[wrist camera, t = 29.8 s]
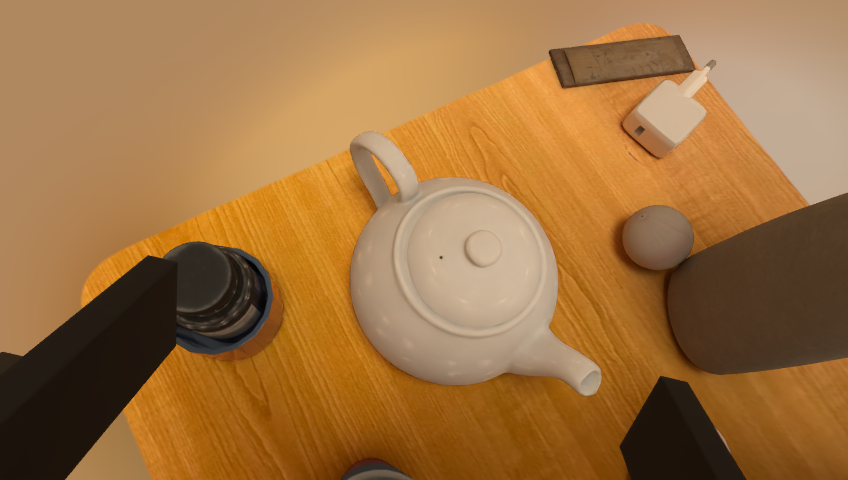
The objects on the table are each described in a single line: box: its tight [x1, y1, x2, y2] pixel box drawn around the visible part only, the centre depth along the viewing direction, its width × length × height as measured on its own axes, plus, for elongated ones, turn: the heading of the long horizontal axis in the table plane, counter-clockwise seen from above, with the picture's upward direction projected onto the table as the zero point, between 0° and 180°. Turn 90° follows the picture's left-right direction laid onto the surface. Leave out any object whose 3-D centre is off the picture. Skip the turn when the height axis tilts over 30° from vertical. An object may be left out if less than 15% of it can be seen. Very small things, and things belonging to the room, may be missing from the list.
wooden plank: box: [549, 35, 696, 88], centre depth 56 cm, size 17×1×5 cm
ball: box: [622, 205, 694, 270], centre depth 46 cm, size 6×6×6 cm
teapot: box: [350, 131, 602, 396], centre depth 39 cm, size 19×18×14 cm
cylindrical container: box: [176, 246, 284, 361], centre depth 39 cm, size 8×8×6 cm
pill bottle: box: [163, 242, 268, 343], centre depth 37 cm, size 6×6×11 cm
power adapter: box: [622, 60, 716, 158], centre depth 52 cm, size 11×5×6 cm
